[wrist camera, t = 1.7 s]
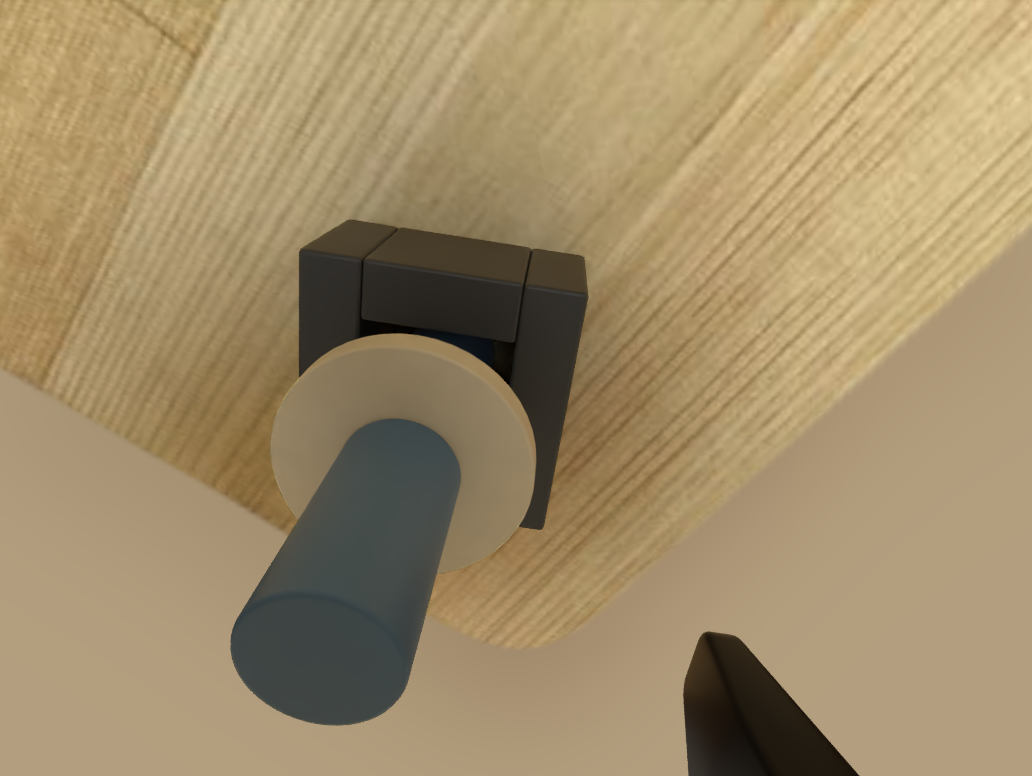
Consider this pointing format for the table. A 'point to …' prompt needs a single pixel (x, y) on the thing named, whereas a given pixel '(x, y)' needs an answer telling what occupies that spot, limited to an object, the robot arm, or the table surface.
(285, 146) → the table surface
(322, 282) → the stand
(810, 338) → the table surface
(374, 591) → the peg
